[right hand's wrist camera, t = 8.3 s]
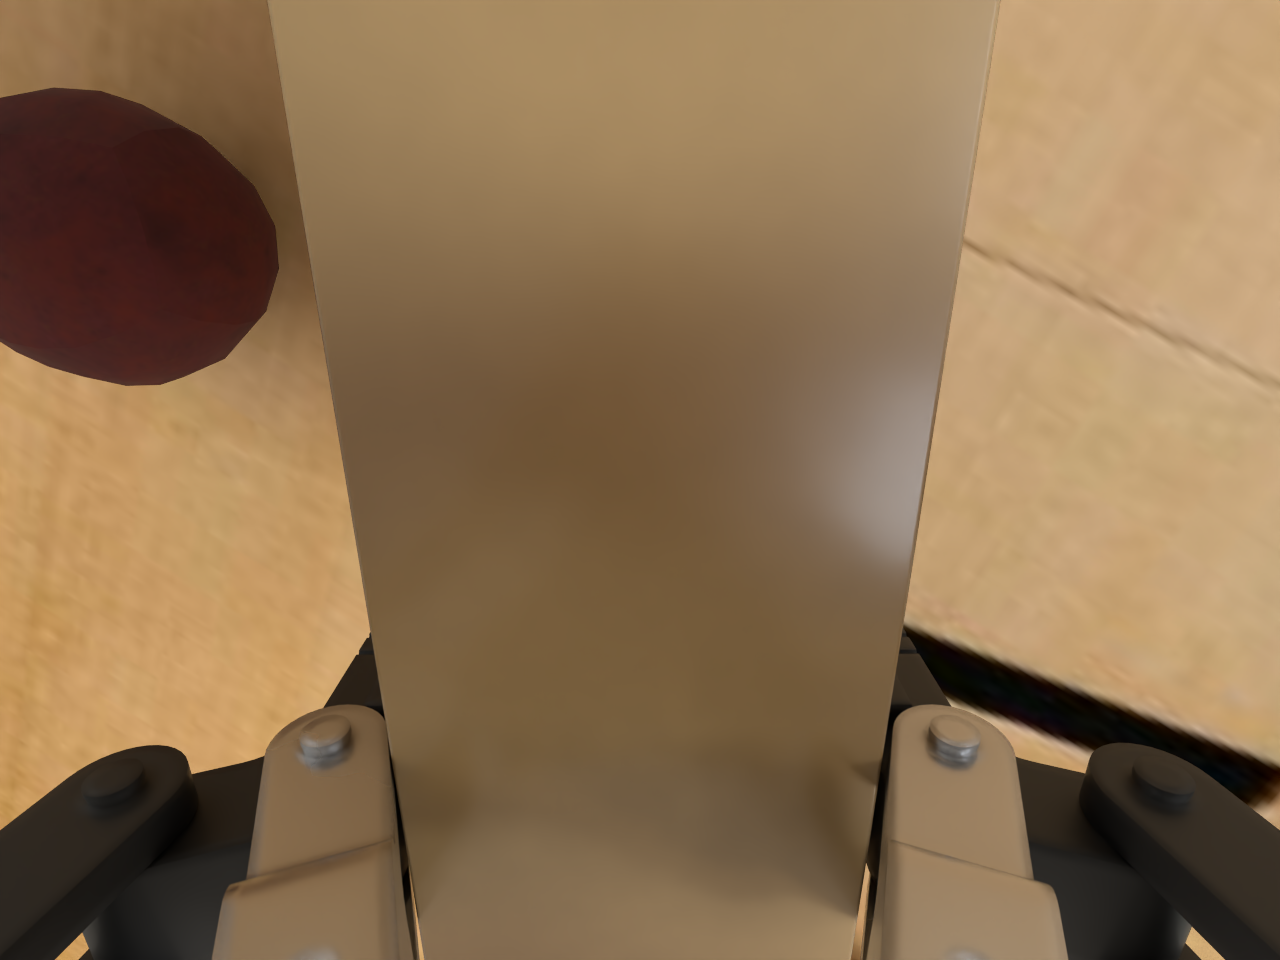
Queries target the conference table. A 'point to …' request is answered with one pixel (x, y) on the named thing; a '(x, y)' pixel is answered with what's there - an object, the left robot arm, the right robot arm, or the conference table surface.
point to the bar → (635, 437)
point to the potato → (124, 240)
